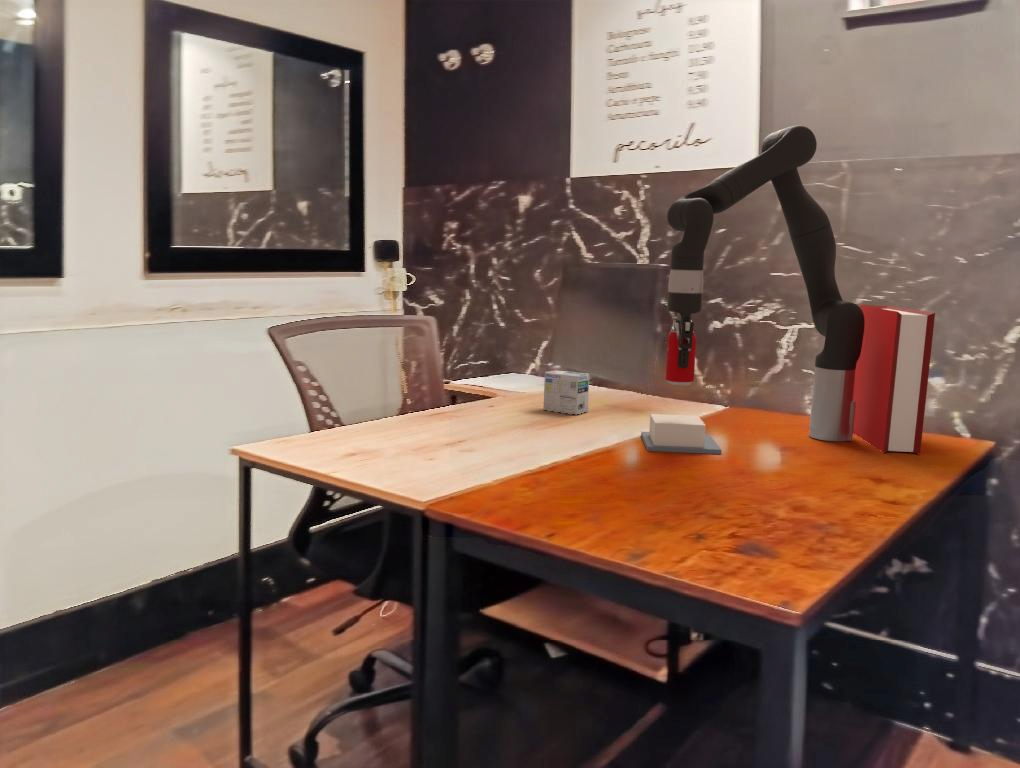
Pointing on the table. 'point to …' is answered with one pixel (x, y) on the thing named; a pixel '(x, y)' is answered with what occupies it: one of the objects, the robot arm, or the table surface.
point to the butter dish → (678, 435)
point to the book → (893, 377)
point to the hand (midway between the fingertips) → (680, 365)
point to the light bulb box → (566, 392)
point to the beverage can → (672, 370)
